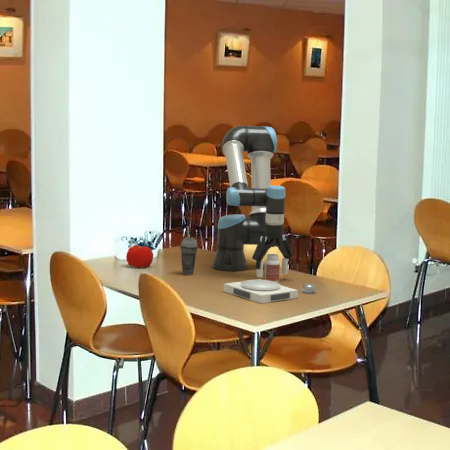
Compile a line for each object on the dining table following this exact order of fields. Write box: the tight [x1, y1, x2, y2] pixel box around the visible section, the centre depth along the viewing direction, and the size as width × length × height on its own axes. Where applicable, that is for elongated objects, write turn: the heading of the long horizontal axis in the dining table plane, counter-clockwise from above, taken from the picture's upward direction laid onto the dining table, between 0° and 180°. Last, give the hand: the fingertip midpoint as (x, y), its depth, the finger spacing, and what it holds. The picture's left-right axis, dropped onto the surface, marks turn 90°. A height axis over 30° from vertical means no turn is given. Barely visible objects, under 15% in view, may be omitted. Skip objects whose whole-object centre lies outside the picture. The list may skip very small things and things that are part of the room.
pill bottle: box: [263, 253, 281, 283], centre depth 337 cm, size 6×6×11 cm
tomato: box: [125, 244, 154, 269], centre depth 356 cm, size 11×12×9 cm
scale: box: [223, 278, 299, 305], centre depth 312 cm, size 22×18×4 cm
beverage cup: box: [180, 226, 198, 276], centre depth 344 cm, size 7×7×20 cm
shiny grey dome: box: [302, 283, 317, 295], centre depth 320 cm, size 5×5×3 cm
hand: (271, 275), depth 337 cm, fingers open, 13 cm apart
